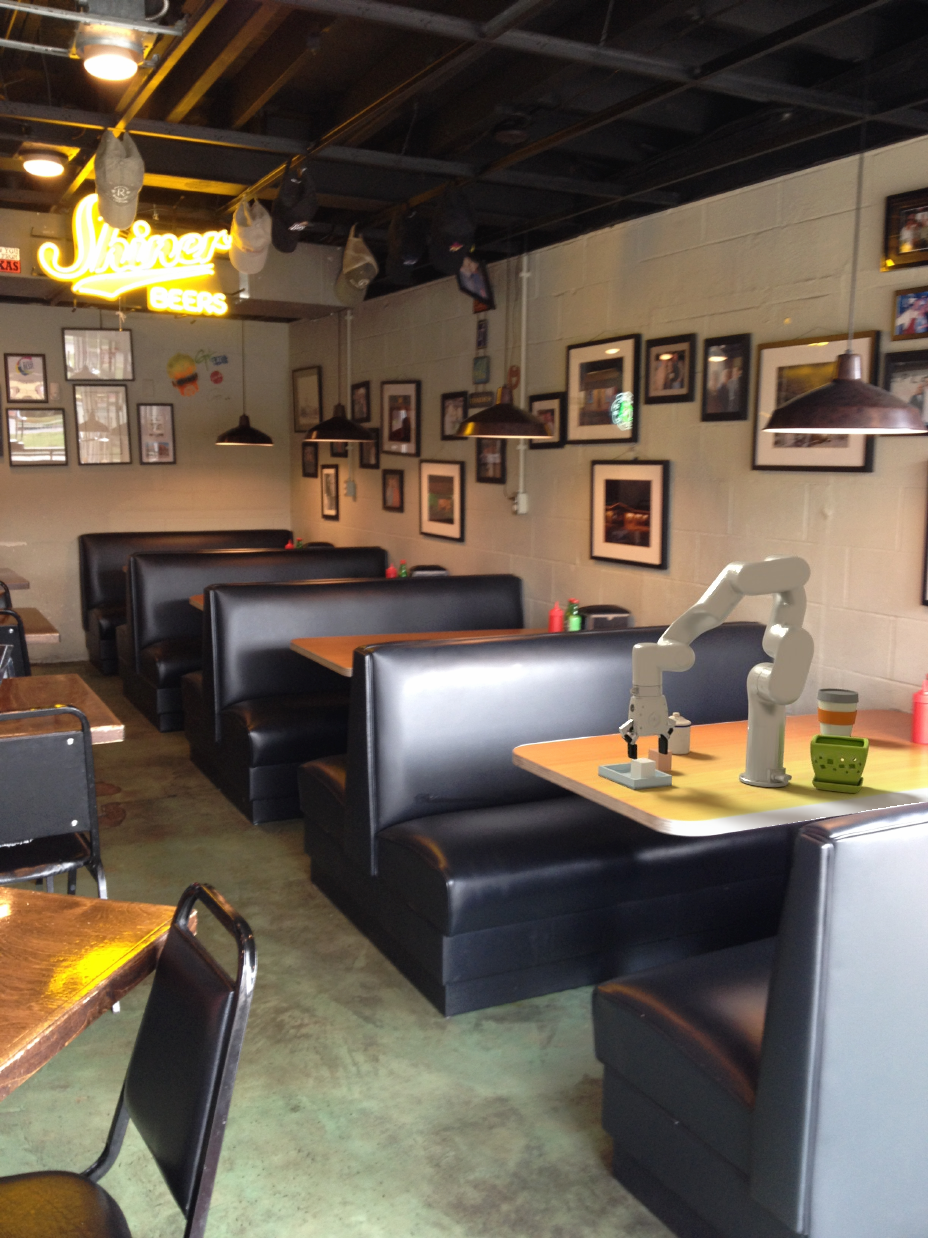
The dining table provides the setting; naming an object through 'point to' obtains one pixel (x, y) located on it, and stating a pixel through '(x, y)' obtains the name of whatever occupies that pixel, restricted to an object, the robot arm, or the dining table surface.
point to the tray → (622, 776)
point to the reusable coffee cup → (837, 711)
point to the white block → (642, 768)
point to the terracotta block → (661, 759)
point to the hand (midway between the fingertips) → (647, 756)
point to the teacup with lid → (679, 735)
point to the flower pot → (838, 762)
